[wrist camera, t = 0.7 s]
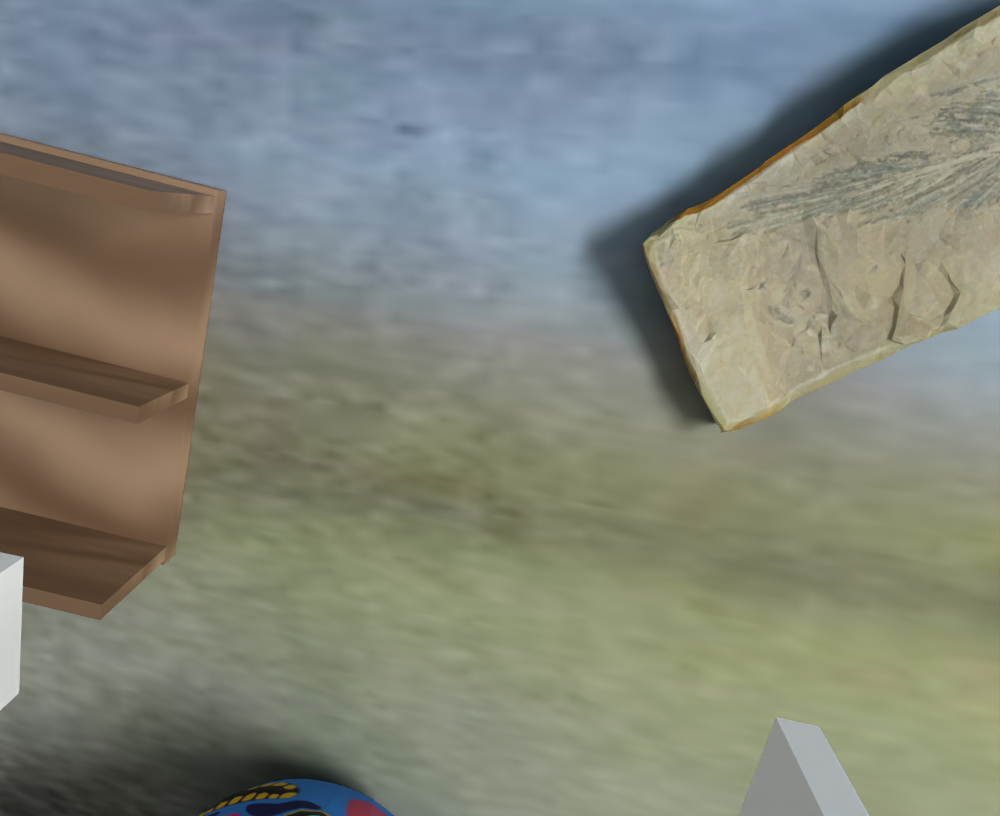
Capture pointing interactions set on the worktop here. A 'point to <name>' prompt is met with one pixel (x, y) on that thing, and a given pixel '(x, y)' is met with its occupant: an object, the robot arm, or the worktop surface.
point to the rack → (97, 366)
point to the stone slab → (844, 237)
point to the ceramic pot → (298, 801)
